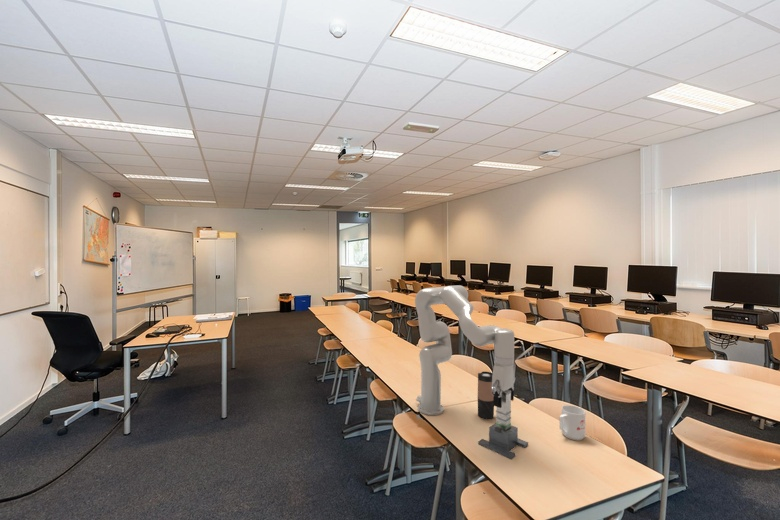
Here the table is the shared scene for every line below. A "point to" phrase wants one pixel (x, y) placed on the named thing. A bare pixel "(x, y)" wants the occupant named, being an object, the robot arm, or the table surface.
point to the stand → (503, 441)
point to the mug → (572, 422)
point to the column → (504, 412)
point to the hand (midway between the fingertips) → (503, 403)
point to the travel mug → (485, 396)
